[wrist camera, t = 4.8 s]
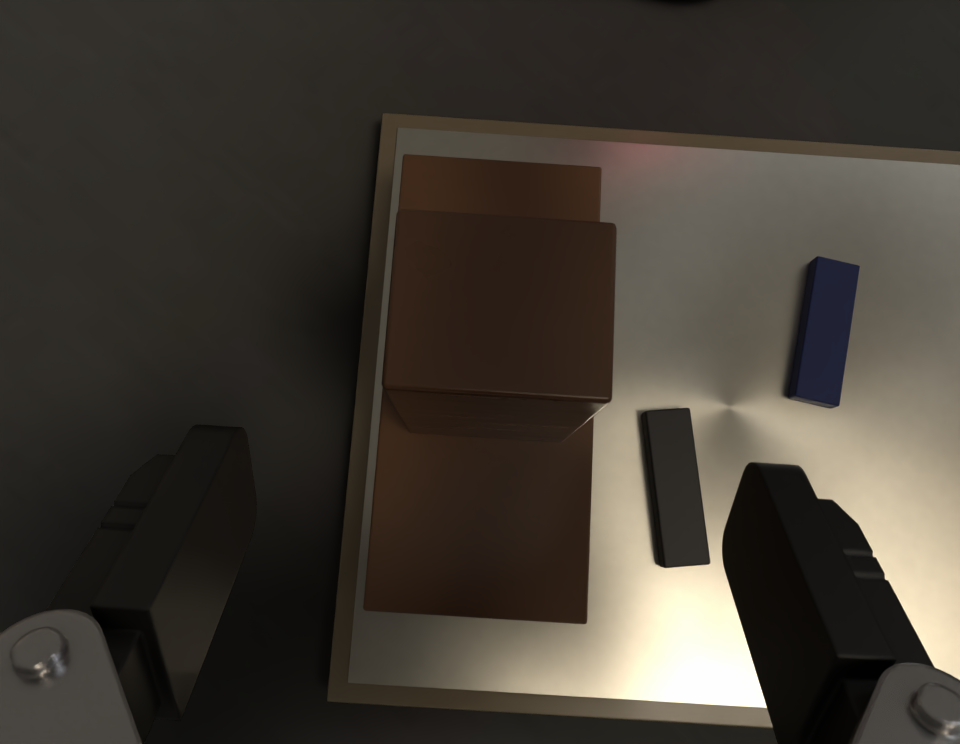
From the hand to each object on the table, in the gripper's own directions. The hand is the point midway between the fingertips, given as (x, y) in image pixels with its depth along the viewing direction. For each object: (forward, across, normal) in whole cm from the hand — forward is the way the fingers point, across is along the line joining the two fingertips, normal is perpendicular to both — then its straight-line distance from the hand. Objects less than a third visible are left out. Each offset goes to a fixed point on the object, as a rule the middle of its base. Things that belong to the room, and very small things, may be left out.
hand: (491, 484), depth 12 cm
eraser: (+7, 0, +3) cm, 8 cm away
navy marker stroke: (+9, -9, +2) cm, 13 cm away
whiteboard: (+8, -6, +4) cm, 11 cm away
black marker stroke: (+6, -5, +5) cm, 9 cm away
